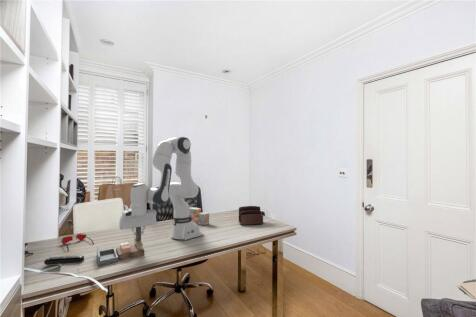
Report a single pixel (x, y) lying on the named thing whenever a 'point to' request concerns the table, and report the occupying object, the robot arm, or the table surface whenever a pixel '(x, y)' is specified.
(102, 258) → the box
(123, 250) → the tile
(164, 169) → the robot arm
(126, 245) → the tile
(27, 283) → the table surface
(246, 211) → the brown lidded box
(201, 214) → the stack of blocks
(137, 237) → the grey block with handle
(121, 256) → the brown square slab
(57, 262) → the portable electronic device stand
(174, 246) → the table surface
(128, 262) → the table surface
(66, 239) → the glasses
